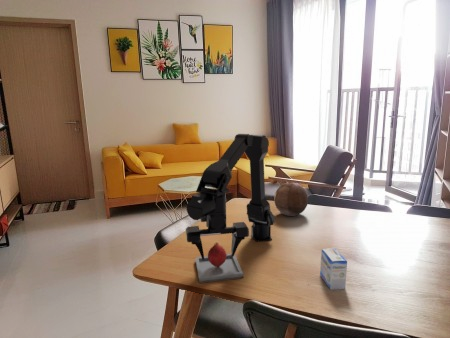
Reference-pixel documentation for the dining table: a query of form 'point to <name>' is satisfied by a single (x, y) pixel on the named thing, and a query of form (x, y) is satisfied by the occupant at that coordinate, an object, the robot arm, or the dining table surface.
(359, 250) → the dining table surface
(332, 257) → the medicine box
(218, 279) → the dish
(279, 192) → the wooden sphere
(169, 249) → the dining table surface
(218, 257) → the onion
